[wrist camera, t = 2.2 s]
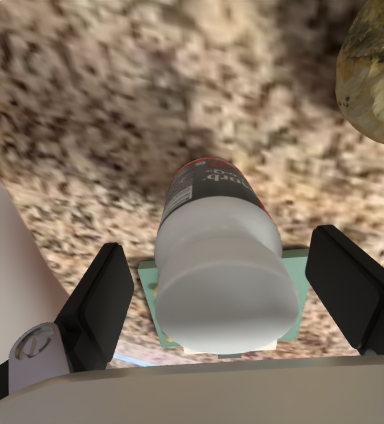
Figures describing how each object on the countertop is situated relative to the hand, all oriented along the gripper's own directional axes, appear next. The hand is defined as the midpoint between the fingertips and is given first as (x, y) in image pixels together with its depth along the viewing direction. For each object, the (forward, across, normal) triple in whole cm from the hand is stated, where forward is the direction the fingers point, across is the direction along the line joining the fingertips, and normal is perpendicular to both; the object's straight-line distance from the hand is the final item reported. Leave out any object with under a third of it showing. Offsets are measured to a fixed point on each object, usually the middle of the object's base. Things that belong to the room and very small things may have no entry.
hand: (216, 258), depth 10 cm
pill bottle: (+6, 0, -1) cm, 6 cm away
